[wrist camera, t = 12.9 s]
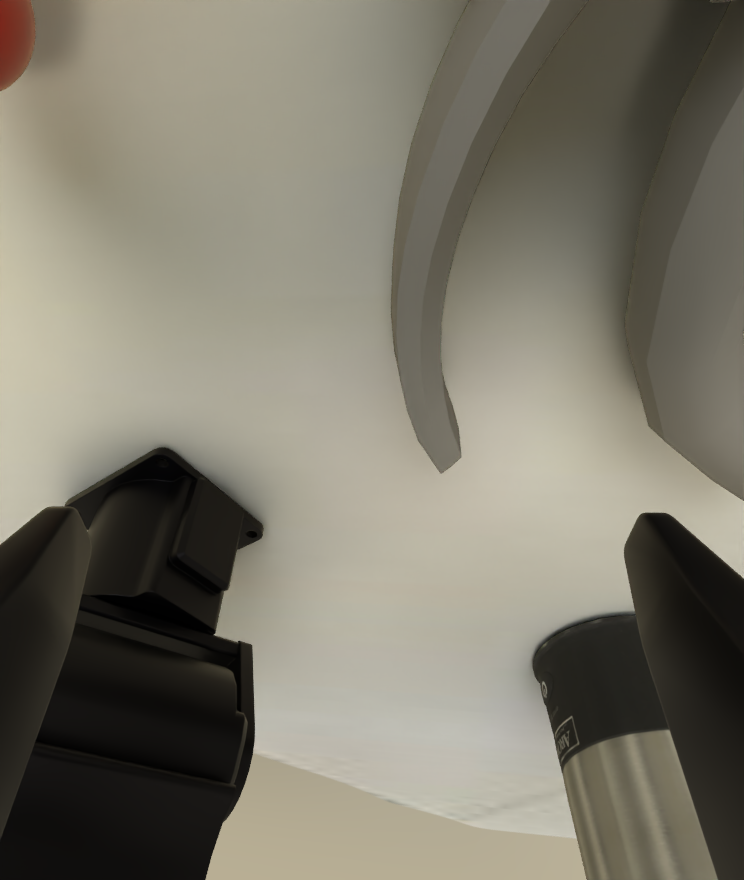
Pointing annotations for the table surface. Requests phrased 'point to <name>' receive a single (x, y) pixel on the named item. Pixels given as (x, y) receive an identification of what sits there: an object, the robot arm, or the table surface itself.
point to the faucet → (658, 242)
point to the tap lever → (15, 39)
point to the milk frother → (619, 756)
